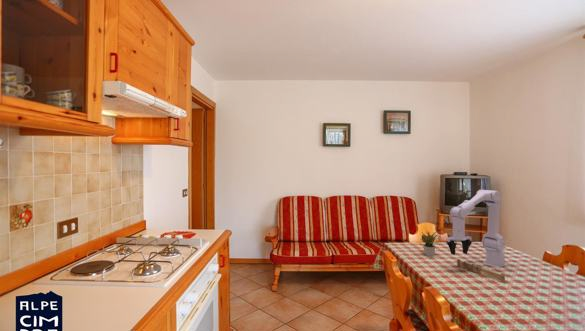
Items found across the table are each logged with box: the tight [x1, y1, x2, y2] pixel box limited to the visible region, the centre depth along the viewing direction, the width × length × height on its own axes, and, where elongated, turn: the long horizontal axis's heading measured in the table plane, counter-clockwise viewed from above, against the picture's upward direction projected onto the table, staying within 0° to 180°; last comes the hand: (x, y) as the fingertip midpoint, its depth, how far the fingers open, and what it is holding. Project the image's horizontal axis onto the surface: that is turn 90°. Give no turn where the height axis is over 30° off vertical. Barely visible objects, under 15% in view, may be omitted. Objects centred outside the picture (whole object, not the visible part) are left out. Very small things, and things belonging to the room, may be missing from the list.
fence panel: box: [456, 258, 479, 274], centre depth 151 cm, size 11×2×4 cm, turn 23°
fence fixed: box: [477, 265, 506, 284], centre depth 140 cm, size 2×13×4 cm, turn 23°
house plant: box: [420, 230, 443, 258], centre depth 177 cm, size 14×14×16 cm
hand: (459, 253), depth 150 cm, fingers open, 7 cm apart
